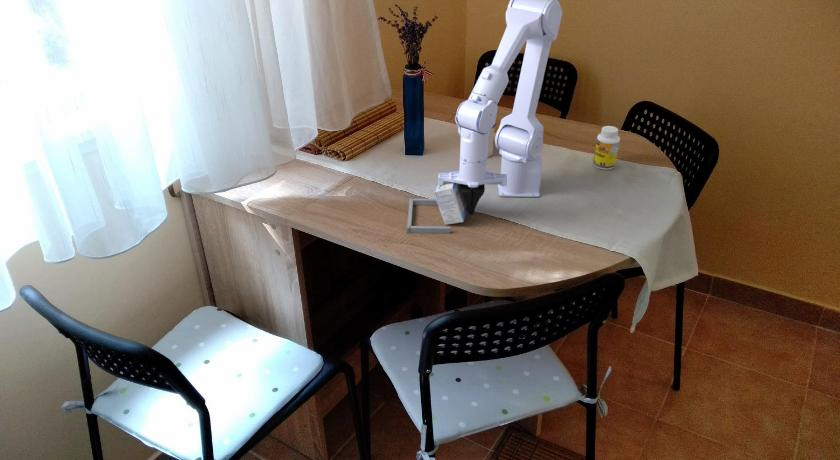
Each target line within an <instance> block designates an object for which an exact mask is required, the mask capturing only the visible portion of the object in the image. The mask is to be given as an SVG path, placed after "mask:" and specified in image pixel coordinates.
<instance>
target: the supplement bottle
mask: <svg viewBox="0 0 840 460" xmlns="http://www.w3.org/2000/svg"><path fill="white" fill-rule="evenodd" d="M618 134H619V128H618V127H616V126H613V125H605V126H603V127H602V128H601V131H600V133H599V134H598V135H597V136H596V137H597V138H596V141H595V142H596V143H595V149H594V153H593V160H592V164H593V166H594V167H595V168H597V169H598V170H602V171H607V170H608V171H609V170H612V169H614V168H615V167H616V163H617V157H618V153H619V148H620V142H621V137H620V136H619V135H618Z"/></svg>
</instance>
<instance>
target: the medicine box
mask: <svg viewBox="0 0 840 460" xmlns="http://www.w3.org/2000/svg"><path fill="white" fill-rule="evenodd" d="M433 193H434V196H435V199H436V200H437V203H438V205H437V206H438V208H439V212H440V214H441V217H442V220H443V222H444V225H455V224H459V223H464V221H465V219H466V216H467V214H468V208H467V204H466V202H465V199H464V197H463V195H462V193H461V190H460V184H457V183H454V182H449V183H446V184H444V185H438V184H437V185H436V187H435V189H434V191H433Z"/></svg>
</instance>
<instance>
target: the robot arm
mask: <svg viewBox="0 0 840 460" xmlns="http://www.w3.org/2000/svg"><path fill="white" fill-rule="evenodd" d="M562 16H563V9H562V7H561V4H560V2H559V0H510V1H509V2H508V5H507V9H506V11H505V23H506V27H505V29H504V33H503V35H502V37H501V40H500V43H499V45H498V47H497V50H496V52H495V55H494V58H493V59H492V62H491V64H490V65H489V66H486V67H484V68H483V69H482V71H481V73H480V75H479V76H478V79H477V80H476V83H475V85H474V87H473V89H472V90H471V93H470V95H469V97H468V99H466V100H464V101H462V102H461V103H460V104H459V106H458V108H457V110H456V115H455V116H454V121H455V123H456V125H457V128H458V130H457V133H458V135H459V136H460V145H459V147H460V148H459V150H460V151H459V170H457V171H450V172H439V173H438V176H437V178H438V182H437V185H444V184H446V183H449V182H454V183H457V184H460V190H461V193H462V195H463V197H464V199H465V202H466V204H467V208H468V211H467V215H468V216H474V215H475V211H476V207H477V205H478V203H479V201H480V199H481V198H482V197H483V195H484V193H485V189H486V187H485V185H495V186H497V192H498V197H502V198H503V197H504V198H505V197H509V198H511V197H512V198H513V197H516V198H518V197H519V198H521V197H522V198H539V197H540V190H541V182H542V174H543V159H542V155H540V154H541V152H542V149H543V145H544V139H543V138H544V130H545V129H544V128H545V127H544V126H543V125H542V123H541V122H540V121H539V119H538V118H537V117H536V114H537V113H536V112H537V110H538V109H537V108H538V104H539V99H540V94H541V91H542V86H543V82H544V77H545V72H546V67H547V63H548V59H549V54H550V52H551V51H550V50H551V45H552V42H554V41H556V40H557V37H558V34H559V30H560V25H561V21H562ZM525 44H526V45H525ZM524 45H525V51H524V54H523V60H522V65H521V68H520V74H519V79H518V83H517V88H516V91H515V92H516V94H515V97H514V103H513V108H512V111H511V113H510V114H508V115H506V116H504V117H502V119H501V120H500V123H499V127H498V129H497V130H496V133H495V135H494V143H495V148H496V149H497V150H499V155H501V160H500V161H501V162H500V163H501V164H500V165H501V166H500V173H498V172H492V171H488V166H487V165H488V158H487V154H488V137H489V131H490V130H491V129H492V127H493V125H494V124H495V123H496V120H497V112H498V111H499V106H498V103H499V101H500V99H501V98H502V96H503V93H504V92H505V89H506V88H507V86H508V84H509V75H508V71H509V70H510V68H511V66H512V65H513V63H514V62H515V60H516V58H517V56H518V55H519V53H520V52H521V50H522V48H523V47H524Z"/></svg>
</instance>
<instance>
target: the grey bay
mask: <svg viewBox="0 0 840 460" xmlns="http://www.w3.org/2000/svg"><path fill="white" fill-rule="evenodd" d="M414 206H438V203H437V200H436V198H412V197H411V198H409V201H408V214H407V225H406V233H409V234H413V233H414V234H451V226H443V225H442V226H440V225H439V226H438V225H437V226H436V225H435V226H433V225H432V226H430V225H429V226H428V225H412V223H413V212H414V211H413V208H414Z"/></svg>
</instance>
